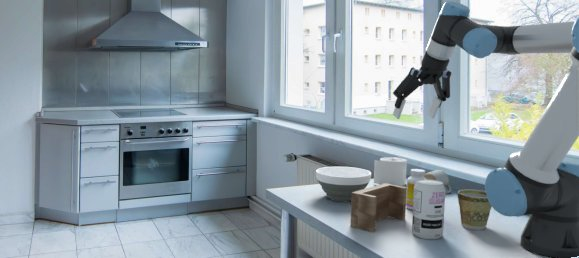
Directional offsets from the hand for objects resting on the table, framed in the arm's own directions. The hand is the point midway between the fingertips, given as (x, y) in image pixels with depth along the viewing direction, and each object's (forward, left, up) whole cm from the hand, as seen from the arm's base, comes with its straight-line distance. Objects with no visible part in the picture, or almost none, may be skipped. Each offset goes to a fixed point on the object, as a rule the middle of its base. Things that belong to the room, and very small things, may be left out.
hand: (413, 116), depth 157 cm
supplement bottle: (+1, -6, -31) cm, 32 cm away
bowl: (+26, +1, -31) cm, 40 cm away
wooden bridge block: (0, +17, -31) cm, 35 cm away
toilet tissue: (+26, -32, -31) cm, 51 cm away
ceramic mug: (+7, -35, -31) cm, 47 cm away
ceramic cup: (-21, -2, -31) cm, 38 cm away
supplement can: (-15, +17, -31) cm, 39 cm away
